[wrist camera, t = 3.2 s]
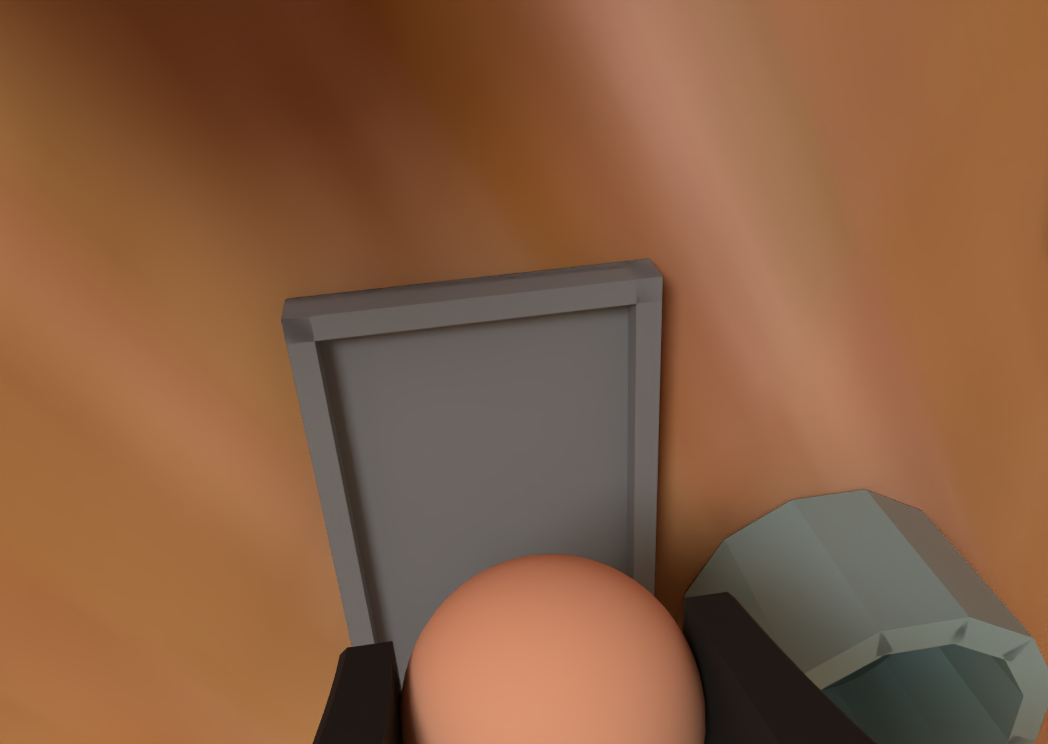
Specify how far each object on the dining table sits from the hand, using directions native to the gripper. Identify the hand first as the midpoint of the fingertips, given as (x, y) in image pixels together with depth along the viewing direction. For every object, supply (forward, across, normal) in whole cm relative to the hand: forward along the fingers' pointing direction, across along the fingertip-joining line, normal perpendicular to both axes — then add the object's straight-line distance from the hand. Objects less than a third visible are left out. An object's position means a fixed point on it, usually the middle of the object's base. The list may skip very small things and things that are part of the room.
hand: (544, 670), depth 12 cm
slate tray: (+7, 0, +3) cm, 8 cm away
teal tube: (+7, -8, +7) cm, 13 cm away
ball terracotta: (+1, 0, 0) cm, 1 cm away
